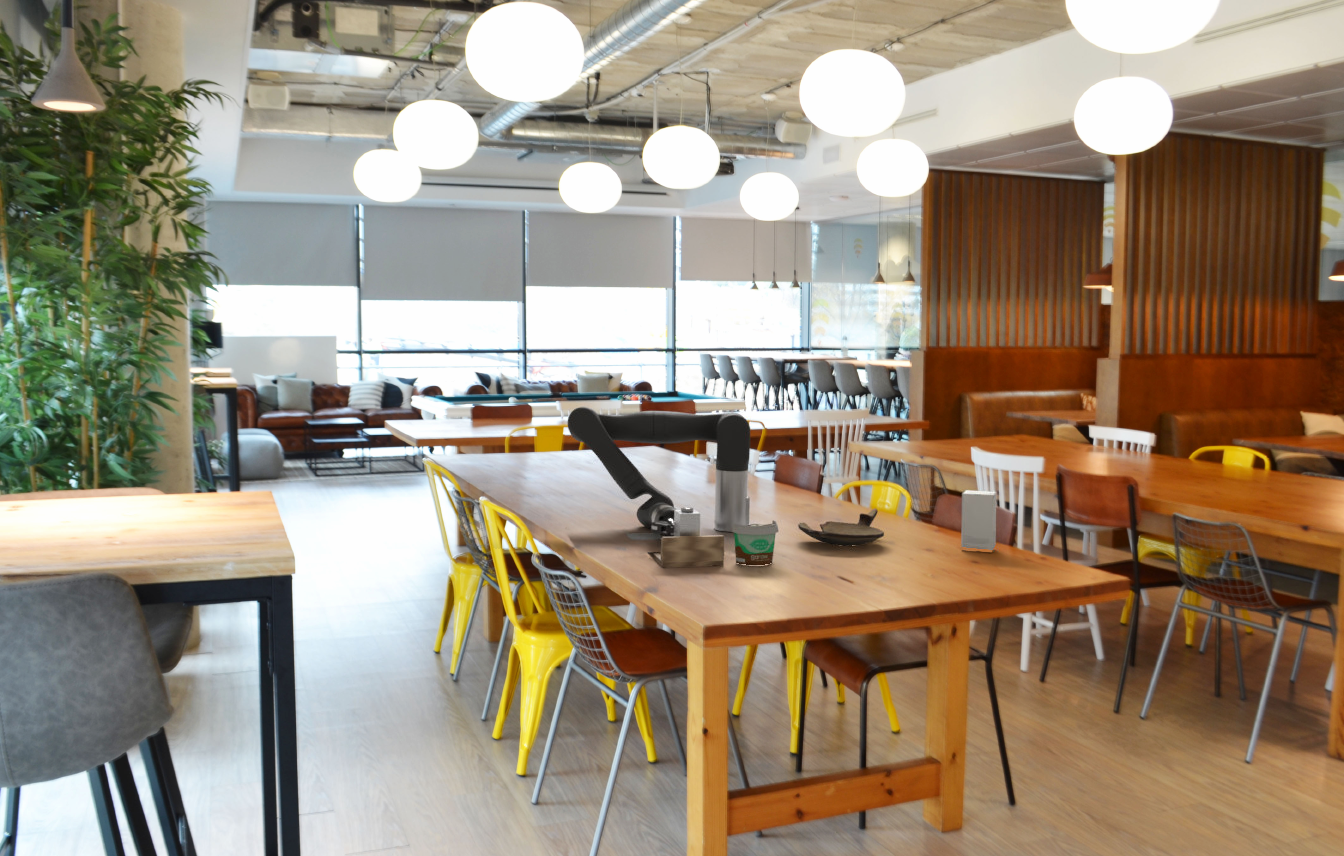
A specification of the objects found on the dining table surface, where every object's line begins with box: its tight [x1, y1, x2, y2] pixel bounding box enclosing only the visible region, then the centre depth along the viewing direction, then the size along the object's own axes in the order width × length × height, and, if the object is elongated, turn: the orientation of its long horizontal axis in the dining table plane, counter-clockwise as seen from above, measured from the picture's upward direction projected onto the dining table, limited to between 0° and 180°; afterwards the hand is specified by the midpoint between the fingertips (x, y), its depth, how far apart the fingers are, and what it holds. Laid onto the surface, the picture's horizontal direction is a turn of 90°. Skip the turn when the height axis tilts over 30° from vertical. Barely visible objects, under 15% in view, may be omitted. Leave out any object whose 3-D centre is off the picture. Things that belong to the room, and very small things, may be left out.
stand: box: [624, 532, 663, 541], centre depth 279 cm, size 9×9×2 cm
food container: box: [732, 520, 779, 565], centre depth 254 cm, size 12×6×10 cm, turn 117°
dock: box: [647, 534, 725, 568], centre depth 259 cm, size 15×19×7 cm
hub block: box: [674, 506, 701, 536], centre depth 256 cm, size 5×6×12 cm
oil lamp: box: [797, 508, 885, 547], centre depth 282 cm, size 22×30×8 cm
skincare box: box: [960, 489, 997, 550], centre depth 276 cm, size 8×7×16 cm
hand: (683, 533), depth 259 cm, fingers closed
